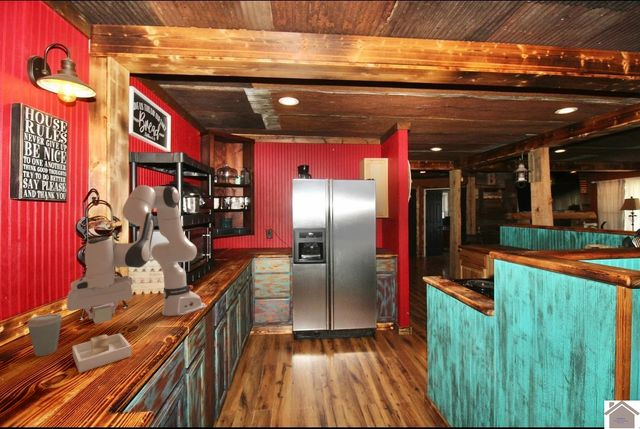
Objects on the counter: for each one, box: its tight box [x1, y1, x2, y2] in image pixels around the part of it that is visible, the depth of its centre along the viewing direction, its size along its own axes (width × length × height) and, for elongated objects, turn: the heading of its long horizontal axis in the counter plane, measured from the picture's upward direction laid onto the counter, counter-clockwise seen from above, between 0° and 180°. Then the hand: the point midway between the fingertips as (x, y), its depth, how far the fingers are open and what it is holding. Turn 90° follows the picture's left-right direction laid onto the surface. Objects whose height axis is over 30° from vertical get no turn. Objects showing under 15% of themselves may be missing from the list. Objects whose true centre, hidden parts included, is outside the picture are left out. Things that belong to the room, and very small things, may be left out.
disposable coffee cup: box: [26, 313, 63, 357], centre depth 120 cm, size 11×11×15 cm
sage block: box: [92, 304, 113, 325], centre depth 113 cm, size 5×5×5 cm
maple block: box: [90, 333, 109, 354], centre depth 119 cm, size 5×5×5 cm
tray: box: [72, 332, 132, 373], centre depth 117 cm, size 16×18×4 cm
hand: (102, 315), depth 113 cm, fingers closed on sage block, 5 cm apart
